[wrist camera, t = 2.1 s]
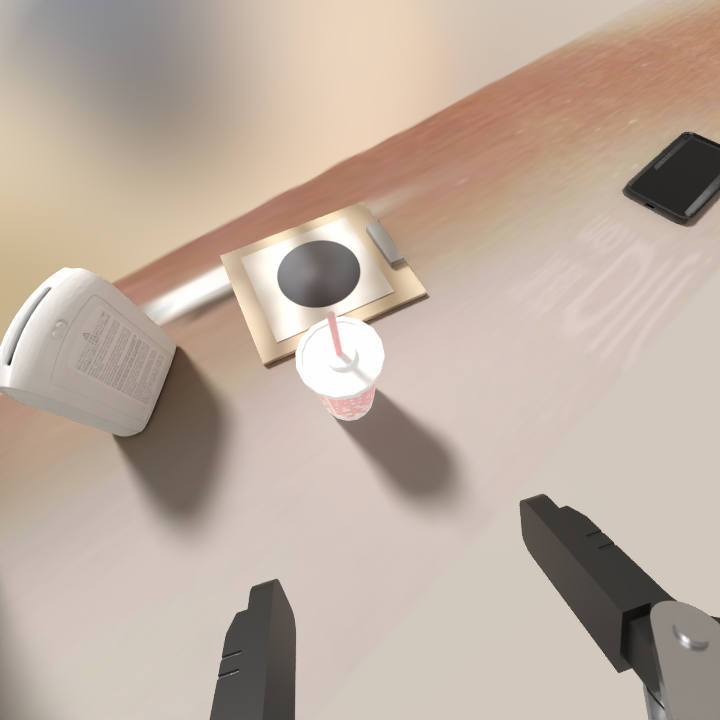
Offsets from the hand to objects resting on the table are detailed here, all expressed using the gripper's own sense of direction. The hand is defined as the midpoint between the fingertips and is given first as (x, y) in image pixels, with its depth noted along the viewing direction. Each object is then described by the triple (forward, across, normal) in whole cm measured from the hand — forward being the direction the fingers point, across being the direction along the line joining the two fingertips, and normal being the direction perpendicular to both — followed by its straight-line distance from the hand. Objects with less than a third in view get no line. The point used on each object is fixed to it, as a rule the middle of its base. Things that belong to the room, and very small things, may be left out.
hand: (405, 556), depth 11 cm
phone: (+32, -46, -6) cm, 56 cm away
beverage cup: (+21, 0, +4) cm, 21 cm away
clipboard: (+31, 0, -6) cm, 31 cm away
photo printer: (+26, +18, -1) cm, 32 cm away
